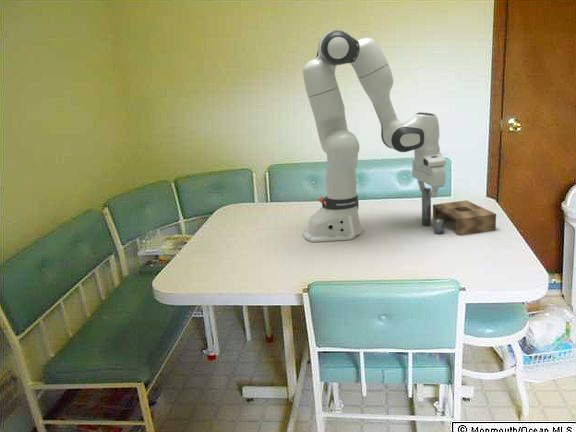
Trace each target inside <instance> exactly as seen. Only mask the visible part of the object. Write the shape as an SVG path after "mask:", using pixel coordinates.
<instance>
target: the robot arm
mask: <svg viewBox="0 0 576 432" xmlns="http://www.w3.org/2000/svg"><path fill="white" fill-rule="evenodd" d="M347 64H349V65H350V66H351V67H352V68H353V70H354V72H355V75H356V77H357V79H358V81H359V83H360V85H361V86H362V89H363V90H364V92H365V93H366V95H367V97H368V98H369V101H371V103H372V106H373V109H374V111H375V112H376V115H377V118H378V120H379V124H380V132H381V133H380V135H381V136H380V137H381V140H382V143H383V144H384V146H385V147H387V148H389V149H393V150H395V151H397V152H399V153H407V152H411V151H413V152H414V159H413V160H412V170H411V171H412V173H411V174H412V177H413V179H415V180H417V184H418V188H419V191H420V192H421V193H422V189H423V188H427V187H426V186H425V184H426V185H428V186H431V188H430V189H431V198H435V199H436V198H437V197H438V191H439V189H440V188H444V187H445V184H446V165H447V159H446V158H445V157H444V156H443V154H442V153H441V150H440V149H441V147H440V145H439V139H440V126H439V125H440V124H439V119H438V116H437V115H436V114H434V113H431V112H430V113H429V112H417V113H414V115H413V116H412V117H411V118H409V119H408V120H406V121H405V122H402V121H401V120H399V118H398V117H397V114H396V112H395V109H394V107H393V104H392V101H391V97H390V95H391V94H390V92H391V89H392V88H393V85H394V78H393V73H392V70H391V68H390V64H389V62H388V61H387V59H386V56H385V54H384V52H383V50H382V49H381V47H380V46H379V44H378V43H377V41H376V39H373V38H371V37H362V38H360V39H358V40H357V39H355V38H354V37H353V36H351V35H350V34H349V33H348V32H345V31H343V30H340V29H339V30H338V29H332V30H329V31H328V32H326V33H324V35H323V36H322V37H321V39H320V41H319V43H318V47H317V53H316V56H315V58H313V59H311V60H309V61H308V62H307V63H305V65H304V66H303V69H302V75H303V83H304V86H305V87H304V88H305V91H306V95H307V97H308V102H309V105H310V108H311V110H312V111H311V112H312V114H313V117H314V121H315V125H316V129H317V130H316V131H317V135H318V140H319V143H320V146H321V148H322V151H323V152H324V153H325V154H326V158H327V159H326V163H327V164H326V173H325V186H326V187H325V188H326V191H325V192H326V196H325V197H323V196H319V198H318V202H320V204H321V207H320V208H319V209H318V210H317V211H315V213H313V214H312V215H311V216H310V217H309V219H308V227H307V228H304V229H303V230H302V237H303V238H304V239H305V240H306V241H309V242H312V243H319V242H321V243H322V242H335V241H349V240H354V239H355V237H357V236H359V235H361V234H362V233H363V228H362V225H361V222H360V217H359V195H358V194H357V166H358V159H359V157H358V156H359V154H360V152H359V151H360V143H359V139H358V138H357V137H356V135H355V134H354V133H353V132H352V131H349V129H348V124H347V119H346V109H345V105H344V104H345V103H344V102H343V98H342V93H341V90H340V86H339V84H338V81H337V79H336V70H337V69H336V68H337V67H338V66H340V65H347Z"/></svg>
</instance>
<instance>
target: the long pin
mask: <svg viewBox="0 0 576 432" xmlns="http://www.w3.org/2000/svg"><path fill="white" fill-rule="evenodd" d="M431 192H432V188H430V187H426V188H423V189H422V192H421V226H422V227H431V226H432V225H431V224H432V220H431V219H432V213H431V212H432V208H431V207H432V197H431Z"/></svg>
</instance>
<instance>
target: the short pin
mask: <svg viewBox="0 0 576 432" xmlns="http://www.w3.org/2000/svg"><path fill="white" fill-rule="evenodd" d="M433 233H434V234H435V235H443V234H444V220H443V219H440V218H437V219H434V220H433Z"/></svg>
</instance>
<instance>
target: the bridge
mask: <svg viewBox="0 0 576 432" xmlns="http://www.w3.org/2000/svg"><path fill="white" fill-rule="evenodd" d="M437 218H440V219H443V221H444V220H445V221H446V220H451V219H453V220H454V221H455V234H456V235H457V236H463V235H471V234H476V233H478V234H479V233H486V232H491V231H496V226H497V225H496V223H497V213H494V212H492V211H490V210H489V209H486V208H485V207H482V206H480V205H479V204H476V203H474V202H471V201H469V200H458V201H453V202H452V201H451V202H444V203H435V204H432V220H433V221H434V219H437Z"/></svg>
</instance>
